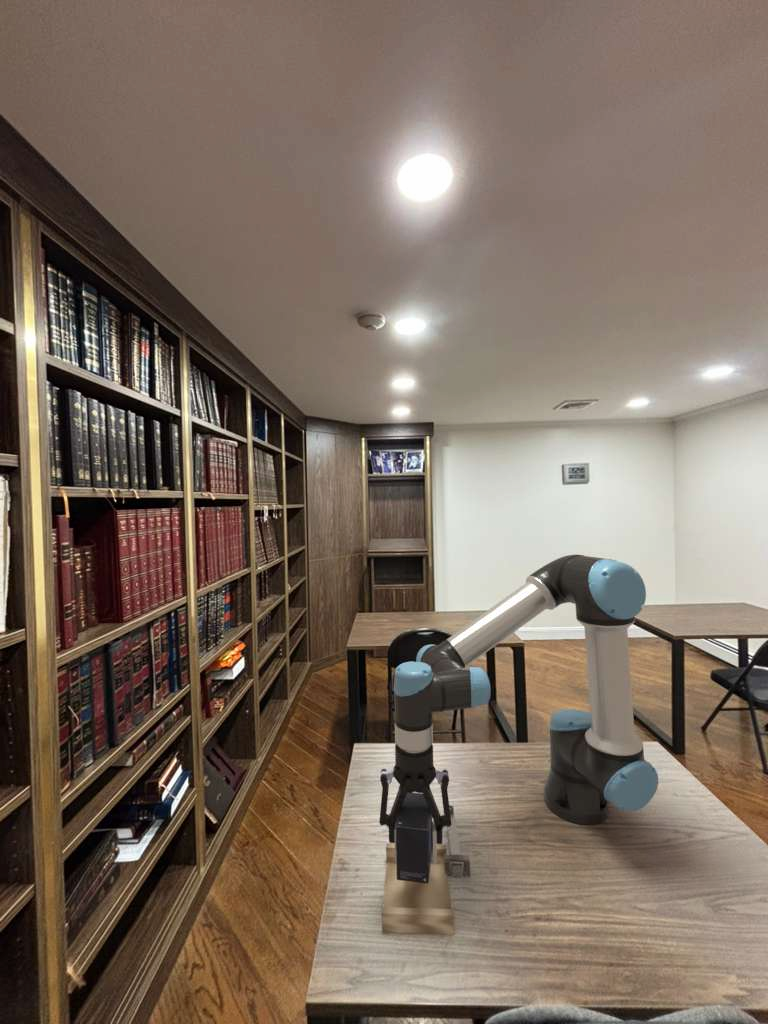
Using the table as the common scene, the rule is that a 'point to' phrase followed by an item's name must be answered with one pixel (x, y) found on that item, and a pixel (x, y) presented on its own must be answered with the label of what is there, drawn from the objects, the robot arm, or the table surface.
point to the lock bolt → (454, 844)
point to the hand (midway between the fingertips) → (415, 857)
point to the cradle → (420, 897)
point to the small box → (414, 839)
